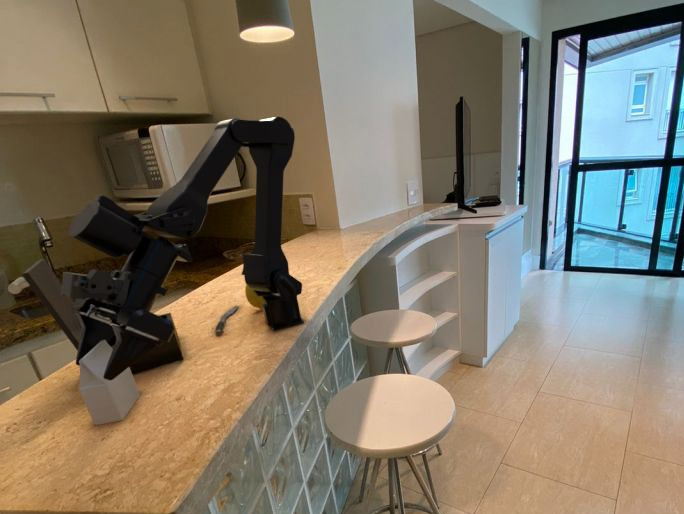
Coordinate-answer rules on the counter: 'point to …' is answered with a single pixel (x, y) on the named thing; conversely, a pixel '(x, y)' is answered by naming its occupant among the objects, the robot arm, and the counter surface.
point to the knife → (222, 320)
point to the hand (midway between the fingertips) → (92, 372)
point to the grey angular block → (105, 387)
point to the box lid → (50, 298)
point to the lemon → (253, 298)
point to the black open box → (157, 352)
